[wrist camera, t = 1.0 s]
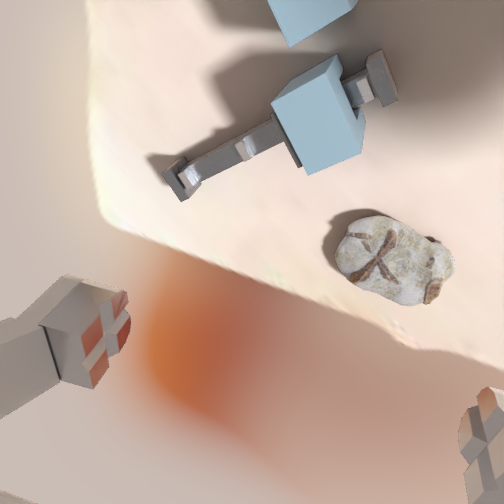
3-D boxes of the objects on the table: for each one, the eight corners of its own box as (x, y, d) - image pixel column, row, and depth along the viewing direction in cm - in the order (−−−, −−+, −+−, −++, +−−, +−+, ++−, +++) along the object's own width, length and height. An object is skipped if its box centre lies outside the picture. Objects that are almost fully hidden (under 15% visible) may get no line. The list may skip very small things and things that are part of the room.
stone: (323, 260, 47) (320, 277, 44) (361, 197, 41) (359, 213, 38) (417, 302, 47) (419, 322, 44) (468, 245, 41) (473, 264, 38)
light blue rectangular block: (337, 53, 34) (325, 72, 28) (365, 121, 37) (361, 153, 30) (285, 83, 37) (263, 106, 30) (315, 144, 39) (301, 178, 33)
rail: (381, 48, 33) (380, 56, 30) (397, 89, 34) (397, 100, 32) (175, 160, 44) (161, 173, 41) (193, 187, 46) (180, 202, 43)
